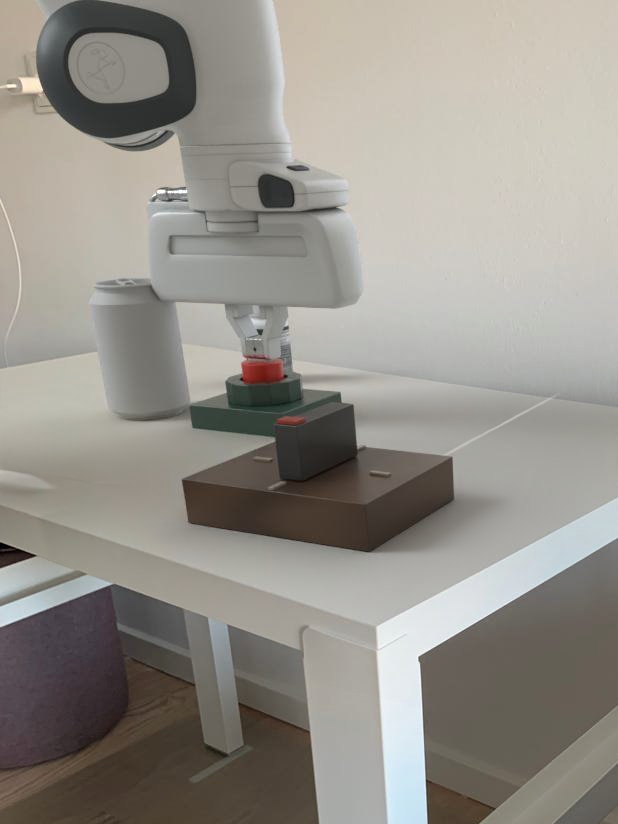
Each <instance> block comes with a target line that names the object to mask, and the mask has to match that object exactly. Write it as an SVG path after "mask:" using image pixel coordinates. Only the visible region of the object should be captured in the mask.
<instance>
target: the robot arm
mask: <svg viewBox="0 0 618 824" xmlns="http://www.w3.org/2000/svg"><path fill="white" fill-rule="evenodd" d="M34 1H35V3H36V5H37V6H38V8H39V10H40V12H41V13H42V15H43V17H44V19H45V20H46V21H45V23H44V25H43V26H42V28H41V30H40V33H39V36H38V39H37V44H36V50H35V64H36V72H37V77H38V80H39V83H40V87H41V89H42V91H43V93H44V95H45V97H46V99H47V100H48V103H49V104H50V105H51V107H52V108H53V109H54V110H55V112H56V113H57V114H58V116H60V118H62V119H63V120H64V121H65V122H66V123H67V124H69V125H70V126H71V127H73V128H74V129H75V130H77V131H79V132H80V133H81V134H83V135H85V136H87V137H90V138H92V139H95V140H97V141H99V142H102V143H103V144H106V145H107V146H110V147H112V148H114V149H117V150H121V151H124V152H125V151H126V152H145V151H150V150H152V149H156V148H158V147H160V146H161V145H164V144H165V143H167V141H169V140H170V139H171V138H173V136H174V135H176V136H177V138H178V142H179V151H180V158H181V164H182V171H183V178H184V184H185V186H179V187H171V186H162V187H159V188H157V189H156V190H155V193H153V194H152V195H151V197H150V198H149V200H148V202H147V203H146V216H147V217H146V218H147V221H148V222H147V223H148V224H147V257H148V270H149V271H148V272H149V278H150V280H151V286H152V289H153V291H154V292H155V294H156V295H157V297H158V298H159V299H160V300H161V301H164V302H176V303H186V304H187V303H188V304H189V303H190V304H211V305H212V304H213V305H214V304H215V305H224V311H225V318H226V319H227V321H228V323H229V324H230V326H231V327H232V329H233V331H234V332H235V334H236V336H237V337H238V338H239V339H240V347H241V353H242V357H243V358H244V359H246V358H249V359H250V358H251V359H265V360H274V359H277V358H279V357H280V356H281V347H280V338H279V336H281V334H282V331H283V329H284V326H285V324H286V321H287V320H288V318H289V308H308V309H309V308H312V309H331V310H332V309H333V310H336V309H340V308H341V309H343V308H346V307H350V306H353V305H355V304H357V303H358V301H359V300H360V298H361V296H362V294H363V292H364V273H363V271H364V270H363V263H362V255H361V254H362V253H361V246H360V241H359V236H358V231H357V228H356V224H355V222H354V220H353V218H352V216H351V215H350V214H349V213H348V212H347V211H346V210H344V209H342V208H343V207H346V206H347V205H348V204H349V202H350V199H351V193H350V185H349V182H348V181H347V179H345V178H344V177H342V176H340V175H338V174H335V173H332V172H330V171H327V170H324V169H321V168H319V167H317V166H314V165H311V164H308V163H306V162H304V161H302V160H299V159H296V158H294V156H293V145H292V138H291V134H290V131H289V129H288V126H287V122H286V118H285V115H284V114H285V113H284V96H285V88H286V76H285V65H284V58H283V49H282V41H281V35H280V28H279V24H278V17H277V12H276V7H275V3H274V0H34ZM156 200H158V201H156ZM341 207H342V208H341ZM253 305H258V306H259V310H260V317H261V319H266V323H265V326H264V330H263V333H262V335H259V334H258V332H257V330H256V328H255V326H254V324H253V322H252V320H251V318H250V316H249V315H252V314H254V310H253Z"/></svg>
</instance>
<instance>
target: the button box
mask: <svg viewBox="0 0 618 824" xmlns="http://www.w3.org/2000/svg"><path fill="white" fill-rule="evenodd" d="M284 378H285V379H282V380H279V381H272V382H258V383H251V382H243V375H242V373H238V374H234V375H231V376H228V377H227V378H226V380H225V381H224V382H225V390H226V392H224V393H221V394H218V395H215V396H212V397H209V398H206V399H202V400H199V401H197V402H193V403H189V404H188V408H189V413H190V420H191V421H190V422H191V426H192V427H191V428H192V429H195V430H196V429H197V430H205V431H213V432H223V433H231V434H232V433H233V434H239V435H240V434H241V435H243V434H244V435H249V436H250V435H251V436H260V437H268V438H275V434H274V426H273V425H274V424H275V423H277V419H280V418H282V417H285V416H290V417H293V416H296V415H299V414H301V413H304V412H307V411H309V410H312V409H315V408H317V407H320V406H322V405H325V404H328V403H330V402H337V403H343V402H342V392H341V391H333V390H324V389H323V390H320V389H310V388H304V386H303V385H304V384H303V376H302V374H301V373H299V372H296V371H294V370H293V371H284Z"/></svg>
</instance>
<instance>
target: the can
mask: <svg viewBox="0 0 618 824" xmlns="http://www.w3.org/2000/svg"><path fill="white" fill-rule="evenodd" d="M92 287H93V288H94V291H95V292H94V293H93V295H92V296H91V297H90V299H89V301H88V303H87V304H88V309H89V313H90V314H89V315H90V319H91V324H92V329H93V334H94V340H95V347H96V350H97V356H98V362H99V366H100V367H99V368H100V372H101V376H102V382H103V387H104V392H105V398H106V404H107V409H108V410H110V411H111V412H113V413H114V414H116V415H117V416H118V418H120V419H124V420H132V421H148V420H158V419H164V418H168V417H169V418H170V417H173V416H176V415H179V414H181V413H183V412H184V410H185V409H186V407H187V406H189V405H190V404H191V394H190V388H189V382H188V381H189V380H188V375H187V368H186V361H185V356H184V349H183V341H182V336H181V330H180V322H179V317H178V310H177V302H164V301H161V300H160V299H159V298H158V297H157V295H156V294H155V292H154V291H153V289H152V286H151V280H150V277H129V278H127V277H119V278H116V279H107V280H101V281H97V282H94V283H93V284H92Z"/></svg>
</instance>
